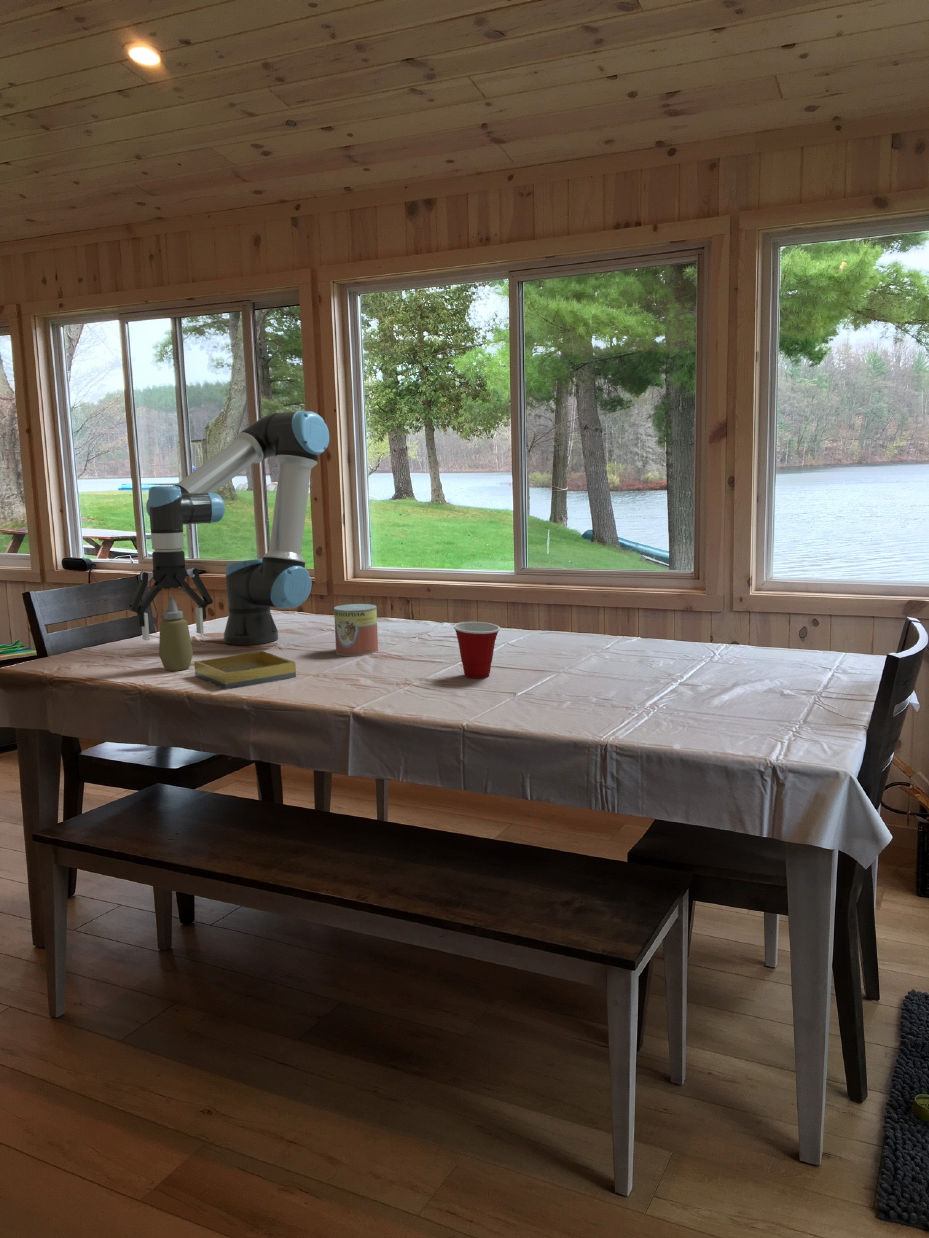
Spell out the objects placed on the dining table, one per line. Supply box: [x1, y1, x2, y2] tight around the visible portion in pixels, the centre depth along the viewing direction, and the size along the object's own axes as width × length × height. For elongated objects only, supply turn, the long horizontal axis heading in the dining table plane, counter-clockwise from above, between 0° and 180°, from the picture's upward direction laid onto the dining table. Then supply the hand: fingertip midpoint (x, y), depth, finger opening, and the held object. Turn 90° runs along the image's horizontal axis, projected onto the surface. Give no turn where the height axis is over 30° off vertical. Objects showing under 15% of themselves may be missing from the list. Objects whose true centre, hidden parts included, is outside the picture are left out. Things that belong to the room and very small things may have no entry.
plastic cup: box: [453, 621, 501, 679], centre depth 215 cm, size 11×11×12 cm
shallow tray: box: [193, 650, 297, 690], centre depth 220 cm, size 18×18×4 cm
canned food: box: [333, 603, 379, 657], centre depth 246 cm, size 11×11×12 cm
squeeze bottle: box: [158, 596, 194, 672], centre depth 229 cm, size 8×8×18 cm
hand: (173, 636), depth 229 cm, fingers open, 13 cm apart
